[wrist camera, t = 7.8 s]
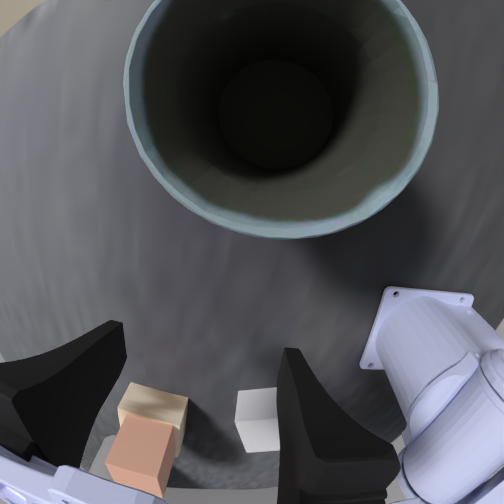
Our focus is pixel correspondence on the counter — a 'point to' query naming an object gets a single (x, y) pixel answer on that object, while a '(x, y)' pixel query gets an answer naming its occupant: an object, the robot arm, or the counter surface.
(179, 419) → the oak base block
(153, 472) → the terracotta block
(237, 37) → the teal round container
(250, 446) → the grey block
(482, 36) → the counter surface
